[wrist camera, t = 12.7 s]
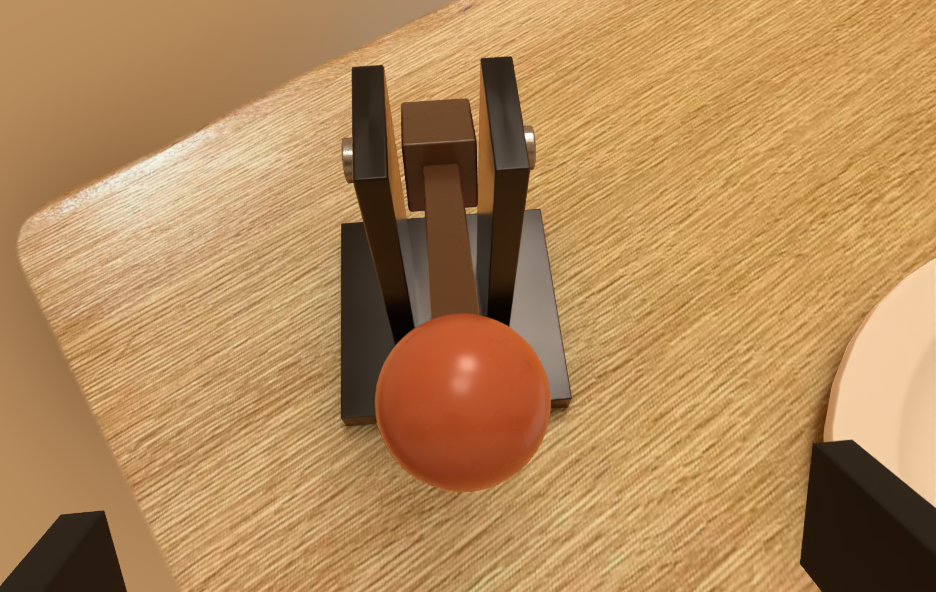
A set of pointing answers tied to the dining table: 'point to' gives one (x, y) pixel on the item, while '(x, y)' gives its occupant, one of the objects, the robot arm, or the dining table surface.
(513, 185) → the rod bracket
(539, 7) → the dining table surface
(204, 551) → the dining table surface
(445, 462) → the lever rod
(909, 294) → the plate
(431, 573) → the dining table surface
